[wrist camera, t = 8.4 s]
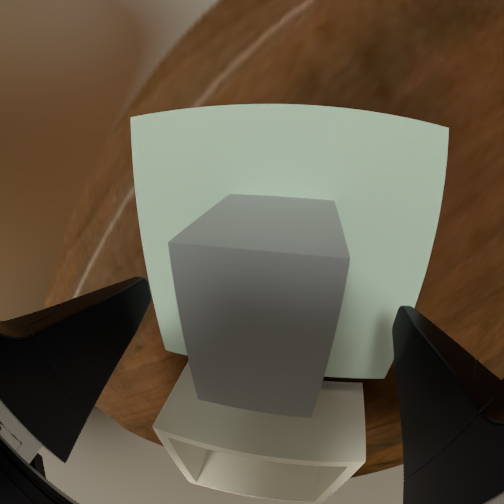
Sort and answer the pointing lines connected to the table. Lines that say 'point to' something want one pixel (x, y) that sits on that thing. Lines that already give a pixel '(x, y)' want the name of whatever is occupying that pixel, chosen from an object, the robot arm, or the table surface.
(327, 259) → the lid
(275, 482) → the box
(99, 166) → the table surface
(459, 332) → the table surface
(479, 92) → the table surface
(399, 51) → the table surface
